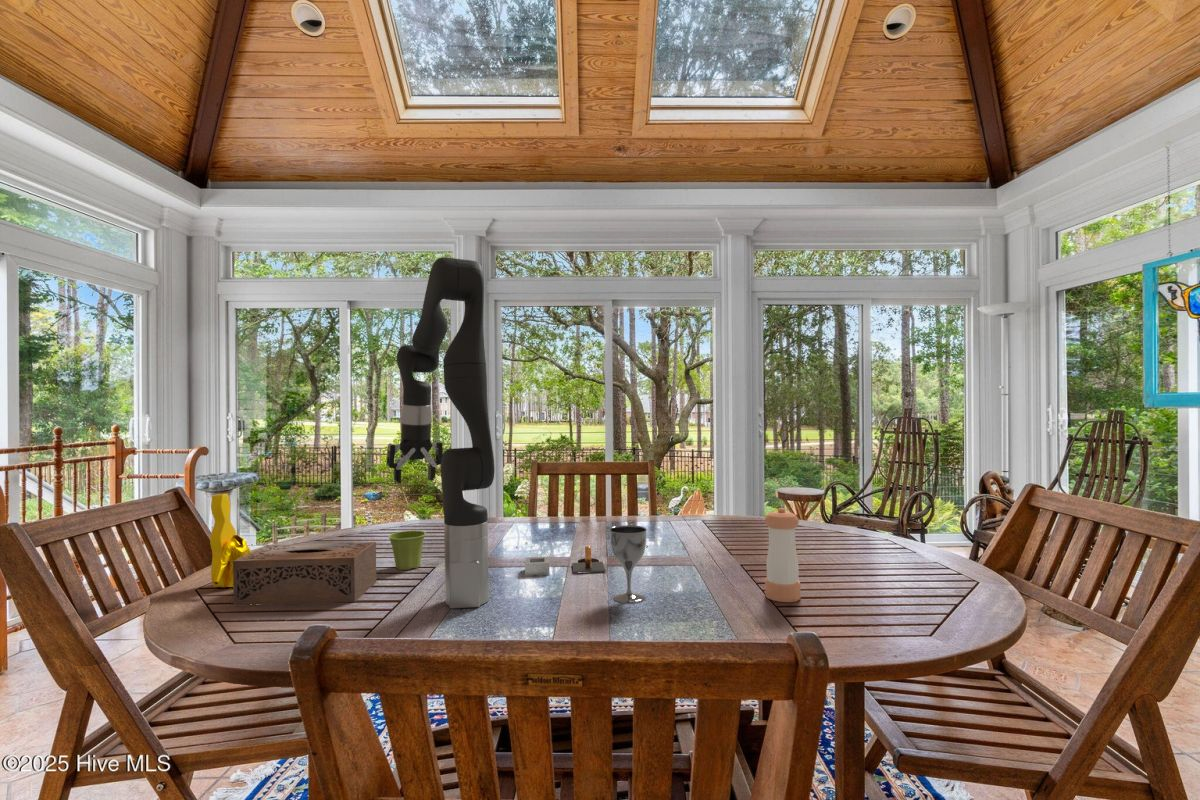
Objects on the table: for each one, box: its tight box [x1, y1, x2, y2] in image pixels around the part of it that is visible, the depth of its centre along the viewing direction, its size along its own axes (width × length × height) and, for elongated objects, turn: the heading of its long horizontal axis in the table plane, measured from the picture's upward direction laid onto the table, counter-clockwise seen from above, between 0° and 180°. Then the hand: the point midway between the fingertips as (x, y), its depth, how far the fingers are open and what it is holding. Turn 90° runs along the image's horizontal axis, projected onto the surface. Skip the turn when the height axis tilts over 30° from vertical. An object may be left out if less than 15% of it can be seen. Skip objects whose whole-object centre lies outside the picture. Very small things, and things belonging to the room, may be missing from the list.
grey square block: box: [524, 556, 551, 577], centre depth 152 cm, size 6×6×3 cm
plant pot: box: [388, 530, 427, 571], centre depth 158 cm, size 9×9×9 cm
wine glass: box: [609, 524, 647, 605], centre depth 131 cm, size 8×8×15 cm
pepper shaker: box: [764, 507, 802, 603], centre depth 130 cm, size 7×7×19 cm
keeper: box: [571, 545, 607, 574], centre depth 154 cm, size 8×8×6 cm
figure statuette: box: [209, 493, 252, 588], centre depth 145 cm, size 18×8×22 cm, turn 1°
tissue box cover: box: [232, 541, 377, 606], centre depth 138 cm, size 26×14×10 cm, turn 93°
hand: (414, 481), depth 160 cm, fingers open, 8 cm apart
